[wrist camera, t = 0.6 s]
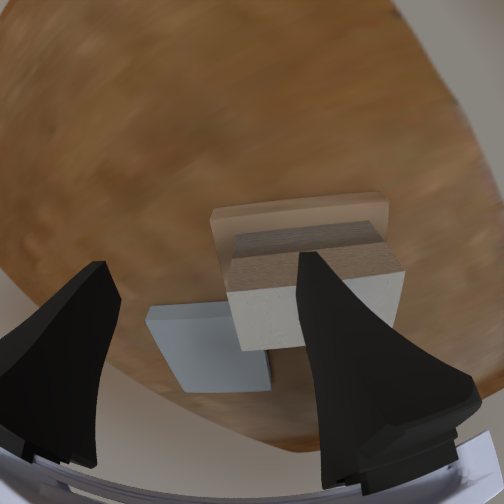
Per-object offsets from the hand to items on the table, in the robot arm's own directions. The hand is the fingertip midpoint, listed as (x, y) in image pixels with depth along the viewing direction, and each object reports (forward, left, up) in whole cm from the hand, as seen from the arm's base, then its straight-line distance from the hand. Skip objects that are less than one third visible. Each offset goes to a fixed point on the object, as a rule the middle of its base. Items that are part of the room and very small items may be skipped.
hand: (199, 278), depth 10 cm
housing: (-5, -5, -9) cm, 11 cm away
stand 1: (-16, +4, -11) cm, 20 cm away
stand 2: (-5, -5, -11) cm, 12 cm away
